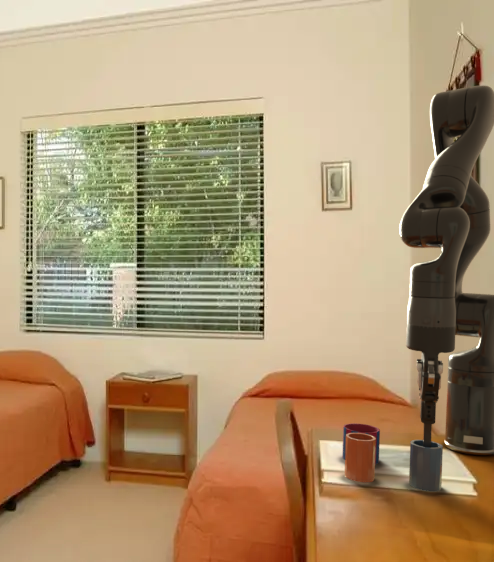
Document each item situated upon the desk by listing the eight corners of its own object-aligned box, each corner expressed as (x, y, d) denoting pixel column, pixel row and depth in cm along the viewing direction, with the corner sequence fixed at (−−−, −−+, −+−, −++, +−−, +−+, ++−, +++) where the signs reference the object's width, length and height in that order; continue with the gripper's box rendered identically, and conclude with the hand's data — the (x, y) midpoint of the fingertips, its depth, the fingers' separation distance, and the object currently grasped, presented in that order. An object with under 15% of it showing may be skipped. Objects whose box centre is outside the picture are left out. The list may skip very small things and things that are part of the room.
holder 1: (360, 474, 111) (361, 431, 111) (380, 483, 107) (382, 439, 106) (338, 477, 110) (339, 434, 109) (358, 486, 105) (359, 442, 105)
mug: (381, 460, 119) (382, 427, 119) (371, 475, 111) (372, 439, 110) (346, 454, 123) (347, 421, 122) (334, 467, 114) (335, 432, 114)
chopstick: (422, 465, 105) (424, 392, 105) (429, 466, 105) (432, 393, 104) (422, 467, 104) (424, 393, 103) (430, 468, 104) (432, 394, 103)
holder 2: (423, 482, 108) (425, 438, 107) (447, 492, 103) (449, 446, 103) (402, 485, 106) (403, 441, 106) (425, 496, 101) (427, 449, 101)
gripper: (459, 328, 96) (456, 435, 96) (451, 320, 108) (448, 415, 109) (407, 325, 99) (404, 429, 99) (405, 318, 111) (403, 410, 112)
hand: (427, 421), depth 104 cm, fingers closed on chopstick, 1 cm apart
